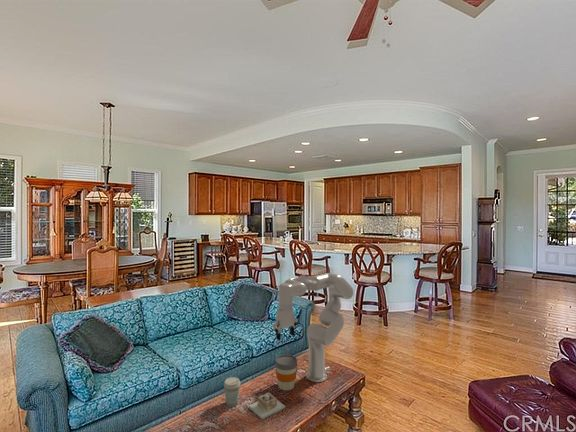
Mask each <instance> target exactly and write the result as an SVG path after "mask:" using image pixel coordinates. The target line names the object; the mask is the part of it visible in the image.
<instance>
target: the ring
mask: <svg viewBox="0 0 576 432" xmlns="http://www.w3.org/2000/svg"><path fill="white" fill-rule="evenodd" d="M265 395H269V401H267V402H266V401H265ZM277 400H278V399H277V397H275V396H274V395H273V394H271V393H270V392H266V393H264V394H261V395H260V396H258V397H257V401H258V406H259V407H260V408H262V409H263V410H264V411H265V412H266V411H268V410H271V409H273V408H275V407H277Z"/></svg>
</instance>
